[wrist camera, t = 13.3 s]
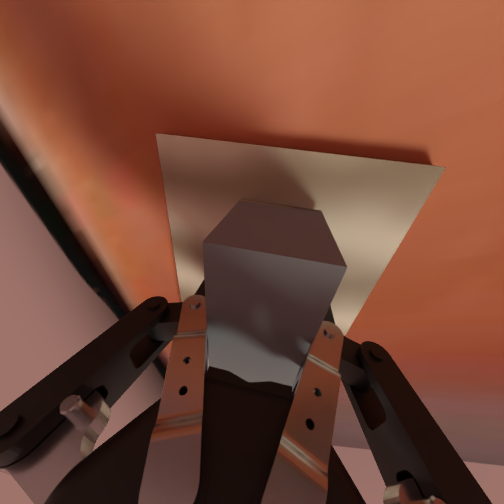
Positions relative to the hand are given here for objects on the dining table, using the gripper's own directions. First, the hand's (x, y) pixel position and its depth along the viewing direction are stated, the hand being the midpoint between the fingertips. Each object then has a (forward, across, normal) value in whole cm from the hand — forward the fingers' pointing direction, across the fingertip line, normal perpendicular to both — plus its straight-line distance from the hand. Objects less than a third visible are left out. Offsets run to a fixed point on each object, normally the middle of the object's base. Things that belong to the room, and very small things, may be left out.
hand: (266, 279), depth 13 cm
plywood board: (+3, 0, +7) cm, 7 cm away
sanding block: (+1, 0, 0) cm, 1 cm away
